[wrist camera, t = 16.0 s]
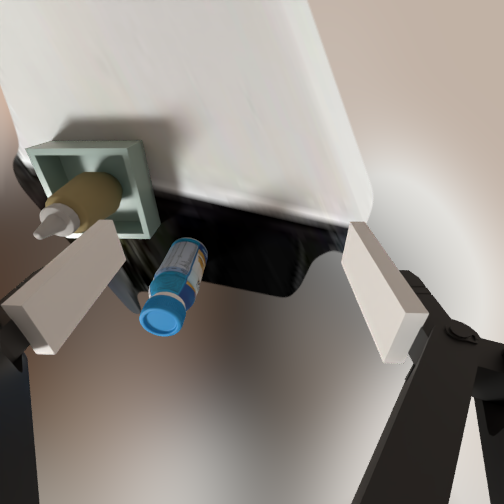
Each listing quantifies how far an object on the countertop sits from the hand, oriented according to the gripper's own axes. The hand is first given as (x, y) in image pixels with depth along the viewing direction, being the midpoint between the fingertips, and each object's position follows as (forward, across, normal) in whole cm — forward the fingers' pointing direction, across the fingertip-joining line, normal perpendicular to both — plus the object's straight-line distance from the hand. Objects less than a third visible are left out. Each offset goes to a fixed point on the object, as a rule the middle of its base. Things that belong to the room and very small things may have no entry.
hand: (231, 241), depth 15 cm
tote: (+35, -27, -9) cm, 45 cm away
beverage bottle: (+35, -14, -24) cm, 45 cm away
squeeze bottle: (+34, -27, -9) cm, 44 cm away
